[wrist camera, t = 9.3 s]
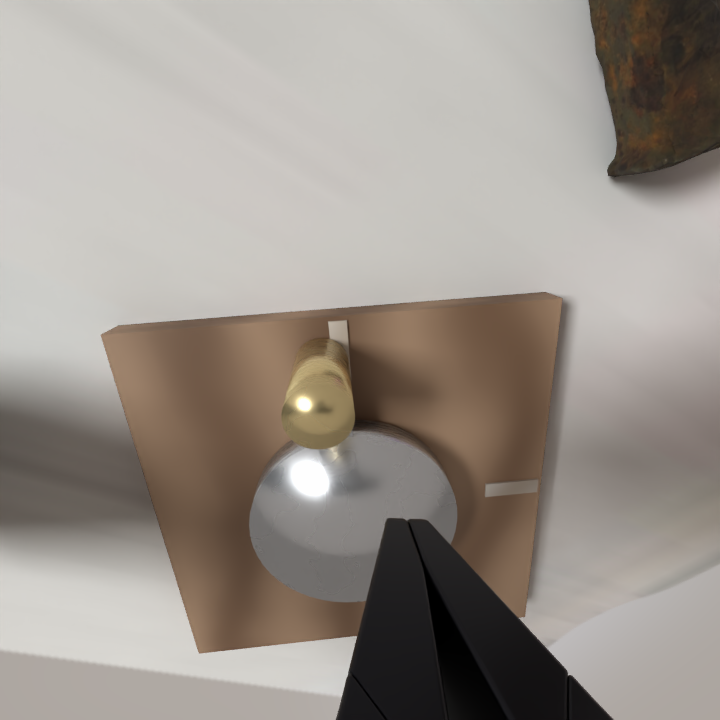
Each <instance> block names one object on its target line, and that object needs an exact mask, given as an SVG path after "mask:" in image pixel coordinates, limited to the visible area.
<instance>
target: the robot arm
mask: <svg viewBox="0 0 720 720" xmlns="http://www.w3.org/2000/svg"><path fill="white" fill-rule="evenodd" d="M336 720H613V718H612V717H611V716H610V715H609V714H608V713H607V712H606V711H605V710H604V709H603V708H602V707H601V706H600V705H599V704H598V703H597V702H596V701H595V700H594V699H593V698H592V697H591V695H590V694H589V693H588V692H587V691H586V690H585V689H584V688H583V687H582V686H581V685H580V684H579V683H578V681H577V680H576V679H575V678H574V677H573V676H571V675H569V676H568V672H567V670H566V669H565V668H564V667H563V666H562V664H561V663H560V662H559V661H558V660H557V659H556V658H555V657H554V656H553V655H552V654H551V653H550V652H549V650H548V649H547V648H546V647H545V646H544V645H543V644H542V643H541V642H540V641H539V640H538V639H537V637H536V636H535V635H534V634H533V633H532V632H531V631H530V630H529V629H528V628H527V627H526V626H525V624H524V623H523V622H522V621H521V620H520V619H519V618H518V617H517V616H516V615H515V614H514V613H513V612H512V610H511V609H510V608H509V607H508V606H507V605H506V604H505V603H504V602H503V601H502V600H501V599H500V598H499V596H498V595H497V594H496V593H495V592H494V591H493V590H492V589H491V588H490V587H489V586H488V585H487V583H486V582H485V581H484V580H483V579H482V578H481V577H480V576H479V575H478V574H477V573H476V572H475V571H474V569H473V568H472V567H471V566H470V565H469V564H468V563H467V562H466V561H465V560H464V559H463V558H462V557H461V555H460V554H459V553H458V552H457V551H456V550H455V549H454V548H453V547H452V546H451V545H450V544H449V542H448V541H447V540H446V539H445V538H444V537H443V536H442V535H441V534H440V533H439V532H438V531H437V530H436V528H435V527H434V526H433V525H432V524H431V523H430V522H429V521H428V520H425V519H408V520H405V519H404V518H387V519H386V522H385V526H384V530H383V534H382V538H381V542H380V546H379V550H378V554H377V558H376V562H375V566H374V570H373V574H372V578H371V583H370V587H369V591H368V595H367V599H366V603H365V607H364V611H363V615H362V619H361V623H360V627H359V631H358V635H357V639H356V643H355V648H354V652H353V656H352V660H351V664H350V668H349V672H348V677H347V679H346V683H345V687H344V691H343V695H342V699H341V703H340V707H339V711H338V714H337V718H336Z"/></svg>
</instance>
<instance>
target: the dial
mask: <svg viewBox="0 0 720 720" xmlns="http://www.w3.org/2000/svg"><path fill="white" fill-rule="evenodd" d="M281 421H282V425H283V428H284V430H285V432H286V434H287V435H288V436H289V437H290V439H291V440H290V441H289V442H288V443H286V444H285V445H284V446H283V447H282V448H281V449H279V450H278V451H277V452H276V453H275V455H274V456H273V457H272V458H271V459H270V461H269V462H268V464H267V465H266V467H265V468H264V470H263V472H262V474H261V477H260V479H259V481H258V485H257V488H256V492H255V496H254V500H253V503H252V507H251V511H250V519H249V529H250V537H251V541H252V545H253V548H254V550H255V552H256V554H257V556H258V558H259V559H260V561H261V563H262V564H263V566H264V567H265V568H266V569H267V570H268V571H269V572H270V573H271V574H272V575H273V576H274V577H275V578H276V579H277V580H279V581H280V582H281V583H283V584H284V585H286V586H287V587H289V588H291V589H293V590H295V591H297V592H299V593H301V594H304V595H307V596H309V597H313V598H317V599H321V600H326V601H333V602H362V601H366V599H367V595H368V591H369V587H370V583H371V578H372V574H373V570H374V566H375V562H376V558H377V554H378V550H379V546H380V542H381V538H382V534H383V530H384V526H385V522H386V519H387V518H404V519H405V520H408V519H425V520H428V521H429V522H430V523H431V524H432V525H433V526H434V527H435V528H436V530H437V531H438V532H439V533H440V534H441V535H442V536H443V537H444V538H445V539H446V540H447V541H448V542H449V544H451V542H452V540H453V537H454V534H455V530H456V525H457V505H456V500H455V496H454V493H453V490H452V488H451V485H450V483H449V481H448V478H447V476H446V474H445V471H444V469H443V467H442V465H441V464H440V462H439V460H438V458H437V457H436V456H435V454H434V453H433V452H432V451H431V449H430V448H429V447H427V446H426V445H425V444H424V443H423V442H422V441H421V440H419V439H418V438H416V437H415V436H414V435H412V434H410V433H408V432H406V431H404V430H402V429H400V428H398V427H395V426H392V425H389V424H385V423H381V422H377V421H368V420H355V411H354V402H353V394H352V385H351V376H350V368H349V359H348V355H347V353H346V351H345V349H344V348H343V347H342V346H341V345H340V344H339V343H337V342H336V341H334V340H331V339H328V338H315V339H312V340H309V341H307V342H306V343H304V344H303V345H302V346H301V347H300V349H299V350H298V352H297V354H296V357H295V361H294V365H293V369H292V373H291V377H290V381H289V385H288V389H287V393H286V397H285V401H284V405H283V409H282V414H281Z"/></svg>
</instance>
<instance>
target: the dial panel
mask: <svg viewBox="0 0 720 720" xmlns="http://www.w3.org/2000/svg"><path fill="white" fill-rule="evenodd" d="M561 306H562V298H560V297H557V296H554V295H552V294H549V293H546V292H540V293H528V294H515V295H502V296H489V297H476V298H464V299H451V300H438V301H425V302H412V303H400V304H387V305H374V306H361V307H349V308H336V309H323V310H310V311H297V312H285V313H272V314H259V315H246V316H233V317H221V318H208V319H195V320H182V321H170V322H157V323H144V324H131V325H119V326H117V327H115V328H113V329H111V330H109V331H107V332H105V333H103V334H102V335H101V337H102V341H103V344H104V347H105V350H106V354H107V357H108V360H109V363H110V367H111V370H112V373H113V376H114V380H115V383H116V386H117V389H118V393H119V396H120V399H121V402H122V406H123V409H124V412H125V415H126V419H127V422H128V425H129V428H130V432H131V435H132V438H133V441H134V445H135V448H136V451H137V454H138V457H139V461H140V464H141V467H142V470H143V474H144V477H145V480H146V483H147V487H148V490H149V493H150V496H151V500H152V503H153V506H154V509H155V513H156V516H157V519H158V522H159V526H160V529H161V532H162V535H163V539H164V542H165V545H166V548H167V552H168V555H169V558H170V561H171V565H172V568H173V571H174V574H175V577H176V581H177V584H178V587H179V590H180V594H181V597H182V600H183V603H184V607H185V610H186V613H187V616H188V620H189V623H190V626H191V629H192V633H193V636H194V639H195V642H196V646H197V649H198V652H199V653H207V652H216V651H225V650H234V649H243V648H252V647H261V646H270V645H278V644H287V643H296V642H305V641H314V640H323V639H332V638H341V637H350V636H357V635H358V631H359V627H360V623H361V619H362V615H363V611H364V607H365V603H366V601H362V602H333V601H326V600H321V599H317V598H313V597H309V596H307V595H304V594H301V593H299V592H297V591H295V590H293V589H291V588H289V587H287V586H286V585H284V584H283V583H281V582H280V581H279V580H277V579H276V578H275V577H274V576H273V575H272V574H271V573H270V572H269V571H268V570H267V569H266V568H265V567H264V566H263V564H262V563H261V561H260V559H259V558H258V556H257V554H256V552H255V550H254V548H253V545H252V541H251V537H250V529H249V519H250V511H251V507H252V503H253V500H254V496H255V492H256V488H257V485H258V481H259V479H260V477H261V474H262V472H263V470H264V468H265V467H266V465H267V464H268V462H269V461H270V459H271V458H272V457H273V456H274V455H275V453H276V452H277V451H278V450H279V449H281V448H282V447H283V446H284V445H285V444H286V443H288V442H289V441H290V440H291V439H290V437H289V436H288V435H287V434H286V432H285V430H284V428H283V425H282V421H281V414H282V409H283V405H284V401H285V397H286V393H287V389H288V385H289V381H290V377H291V373H292V369H293V365H294V361H295V357H296V354H297V352H298V350H299V349H300V347H301V346H302V345H303V344H304V343H306V342H307V341H309V340H312V339H315V338H328V339H331V340H334V341H336V342H337V343H339V344H340V345H341V346H342V347H343V348H344V349H345V351H346V353H347V355H348V359H349V368H350V376H351V385H352V394H353V402H354V411H355V420H368V421H377V422H381V423H385V424H389V425H392V426H395V427H398V428H400V429H402V430H404V431H406V432H408V433H410V434H412V435H414V436H415V437H416V438H418V439H419V440H421V441H422V442H423V443H424V444H425V445H426V446H427V447H429V448H430V449H431V451H432V452H433V453H434V454H435V456H436V457H437V458H438V460H439V462H440V464H441V465H442V467H443V469H444V471H445V474H446V476H447V478H448V481H449V483H450V485H451V488H452V490H453V493H454V496H455V500H456V505H457V525H456V530H455V534H454V537H453V540H452V542H451V544H450V545H451V546H452V547H453V548H454V549H455V550H456V551H457V552H458V553H459V554H460V555H461V557H462V558H463V559H464V560H465V561H466V562H467V563H468V564H469V565H470V566H471V567H472V568H473V569H474V571H475V572H476V573H477V574H478V575H479V576H480V577H481V578H482V579H483V580H484V581H485V582H486V583H487V585H488V586H489V587H490V588H491V589H492V590H493V591H494V592H495V593H496V594H497V595H498V596H499V598H500V599H501V600H502V601H503V602H504V603H505V604H506V605H507V606H508V607H509V608H510V609H511V610H512V612H513V613H514V614H515V615H516V616H517V617H518V618H519V617H525V612H526V603H527V595H528V586H529V578H530V569H531V561H532V552H533V544H534V535H535V527H536V519H537V510H538V502H539V493H540V485H541V476H542V468H543V459H544V451H545V442H546V434H547V425H548V417H549V408H550V400H551V391H552V383H553V374H554V366H555V357H556V349H557V340H558V332H559V323H560V315H561Z"/></svg>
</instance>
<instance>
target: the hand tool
mask: <svg viewBox="0 0 720 720" xmlns="http://www.w3.org/2000/svg"><path fill="white" fill-rule="evenodd" d="M589 5H590V16H591V24H592V28H593V32H594V35H595V46H596V55H597V57H598V59H599V62H600V64H601V66H602V69H603V74H604V79H605V88H606V92H607V95H608V99H609V103H610V106H611V111H612V116H613V121H614V125H615V132H616V139H617V148H616V155H615V158H614V160H613V161H612V162H611V163H610V165H609V167H608V170H607V172H608V176H612V177H618V176H621V175H634V174H640V173H645V172H650V171H656V170H660V169H663V168H667V167H671V166H674V165H676V164H678V163H681V162H683V161H686V160H688V159H690V158H693V157H695V156H698V155H700V154H703V153H705V152H708V151H711V150H713V149H716V148H719V147H720V0H589Z"/></svg>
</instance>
